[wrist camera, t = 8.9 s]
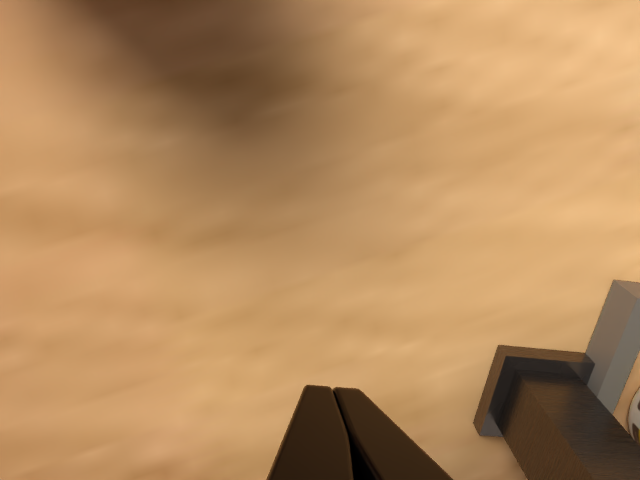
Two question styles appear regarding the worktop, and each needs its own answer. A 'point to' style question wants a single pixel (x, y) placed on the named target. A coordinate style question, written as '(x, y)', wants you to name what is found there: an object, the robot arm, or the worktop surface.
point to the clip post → (554, 417)
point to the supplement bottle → (635, 418)
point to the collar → (615, 342)
